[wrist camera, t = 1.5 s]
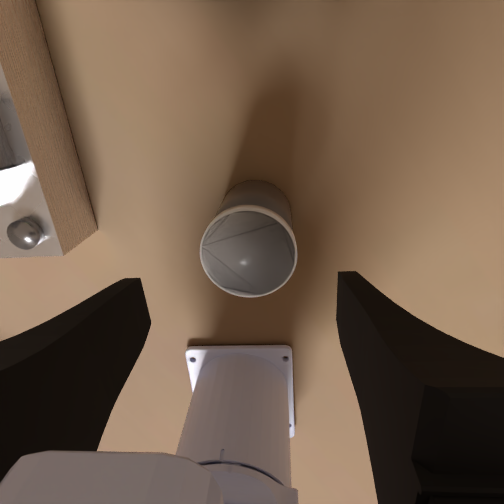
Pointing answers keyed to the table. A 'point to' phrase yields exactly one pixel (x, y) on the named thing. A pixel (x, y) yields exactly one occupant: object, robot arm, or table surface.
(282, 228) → the cup
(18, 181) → the square base socket
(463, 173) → the table surface
